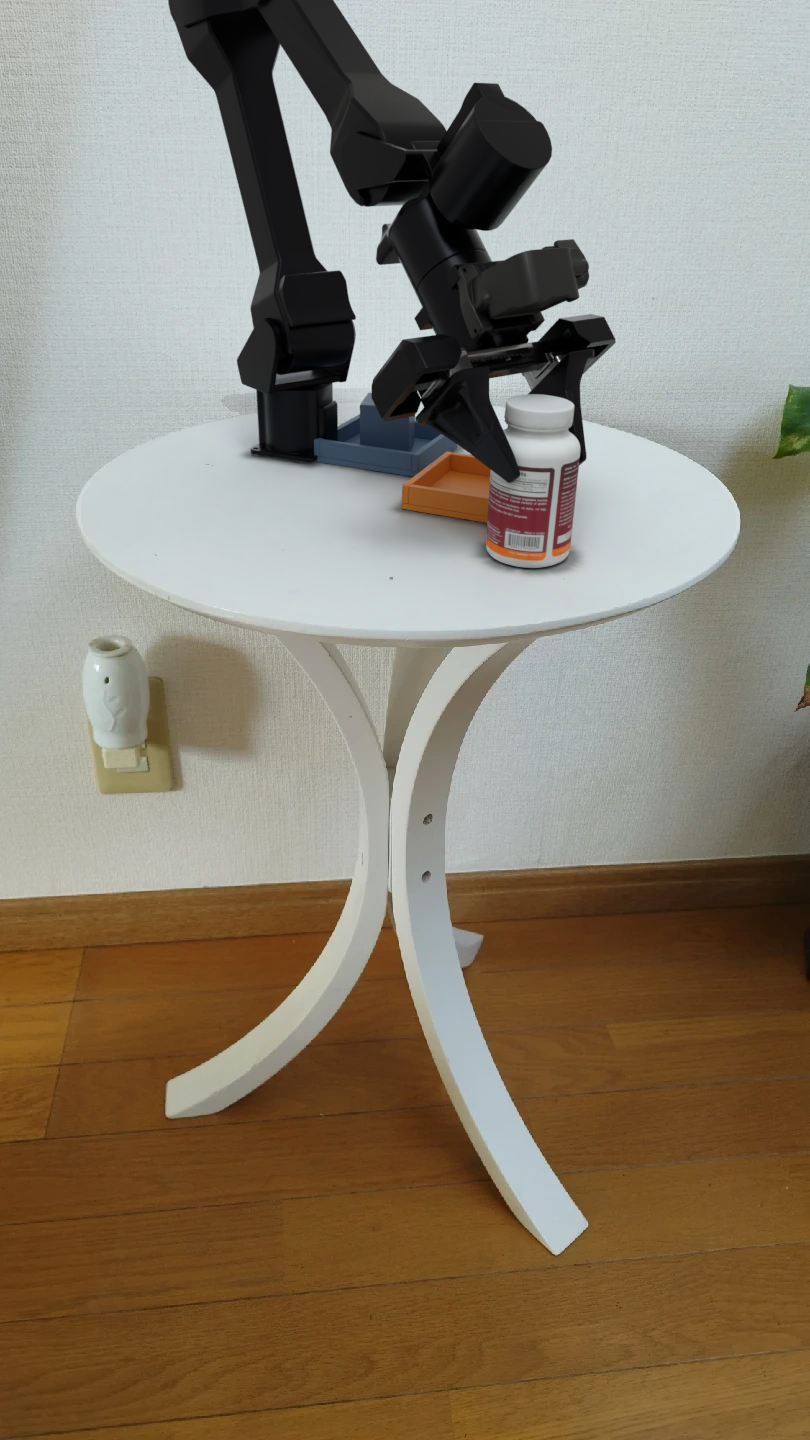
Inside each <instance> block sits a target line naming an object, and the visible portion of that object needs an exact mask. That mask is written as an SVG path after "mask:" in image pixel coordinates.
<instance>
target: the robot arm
mask: <svg viewBox="0 0 810 1440" xmlns="http://www.w3.org/2000/svg"><path fill="white" fill-rule="evenodd" d="M167 1H168V8H169V13H170V16H171V18H172V20H173V23H174V25H175V27H176V30H177V33H178V35H179V39H180V42H181V45H182V47H183V51H184V54H185V56H186V59H187V60H188V61H189V62H190V64H191V65H192V66H193V67H194V69H195V70H196V71H197V72H198V73H199V75H201V77H202V79H204V80H205V82H206V83H207V84H208V85H209V86H210V88H212V90H213V91H214V94H215V97H216V101H217V105H218V109H219V113H220V117H221V121H222V125H223V129H224V133H225V137H226V141H227V145H228V149H229V153H230V157H231V162H232V164H233V165H232V166H233V169H234V173H235V177H236V181H237V185H238V189H239V193H240V197H241V202H242V205H243V210H244V213H245V217H246V221H247V225H248V230H249V233H250V237H251V241H252V244H253V245H252V246H253V250H254V252H255V259H256V262H257V265H258V271H259V275H258V278H257V282H256V285H255V289H254V293H253V295H252V298H251V299H252V300H251V303H250V315H251V321H252V326H253V329H252V331H251V332H250V335H249V336H248V338H247V340H246V342H245V344H244V346H243V347H242V349H241V351H240V353H239V354H238V356H237V359H236V365H237V369H238V373H239V379H240V382H241V384H242V385H244V386H245V387H249V388H251V389H254V390H255V391H256V392H255V393H256V411H257V425H258V426H257V428H258V429H257V430H258V443H257V444H255V445H254V446H252V447H250V450H249V451H250V454H251V455H254V456H255V455H256V456H260V457H261V456H262V457H270V458H275V459H282V460H286V461H287V460H288V461H292V462H293V461H294V462H301V463H308V464H313V463H315V462H316V460H317V457H318V456H317V455H314V440H315V439H317V438H322V439H325V440H332V441H338V426H339V424H338V423H339V422H338V421H339V420H338V417H339V416H338V402H337V400H334V398H333V397H334V392H333V391H334V390H333V385H334V383H346V382H347V379H348V375H349V371H350V366H351V362H352V357H353V353H354V346H355V344H356V336H357V333H356V327H355V324H354V321H355V320H356V319H357V316H356V314H355V312H354V310H353V308H352V305H351V302H350V298H349V297H350V296H349V291H348V285H347V279H346V278H345V275H344V274H343V272H342V271H341V270H339V269H338V270H327V268H326V267H325V266H324V265H323V263H321V261H320V260H319V259H318V258H317V255H316V253H315V249H314V244H313V240H312V237H311V233H310V227H309V223H308V219H307V214H306V210H305V207H304V202H303V198H302V194H301V190H300V185H299V181H298V176H297V173H296V168H295V164H294V161H293V156H292V152H291V147H290V142H289V139H288V135H287V131H286V126H285V121H284V118H283V114H282V110H281V106H280V102H279V97H278V93H277V89H276V85H275V80H274V69H275V67H276V63H277V59H278V55H279V52H280V48H282V50H283V51H284V53H285V54H286V56H287V57H288V59H289V61H290V62H291V64H292V65H293V67H294V68H295V70H296V72H297V73H298V74H299V76H300V78H301V80H302V81H303V82H304V84H305V86H306V87H307V89H308V90H309V92H310V94H311V95H312V97H313V99H314V100H315V101H316V103H317V104H318V106H319V109H321V110H322V111H321V112H322V113H323V114H324V116H325V118H326V120H327V122H328V125H329V127H330V129H331V132H330V145H329V155H330V157H331V160H332V161H333V164H334V166H335V168H336V170H337V173H338V174H339V177H340V179H341V181H342V183H343V186H344V188H345V190H346V192H347V193H348V195H349V197H350V199H352V201H353V202H354V203H355V204H356V205H357V206H360V207H366V208H373V207H374V208H375V207H395V206H396V207H397V206H401V207H400V209H399V211H398V212H397V214H396V215H395V217H394V218H393V220H392V221H391V223H384V224H382V226H381V237H380V241H379V243H378V244H377V247H376V255H375V262H376V263H377V265H379V266H384V265H396V264H397V265H398V264H401V266H402V268H403V270H404V272H405V275H406V277H407V279H408V281H409V283H410V285H411V287H412V289H413V291H414V293H415V295H416V297H417V299H418V301H419V303H420V305H421V308H420V310H419V311H418V313H417V314H416V315H415V317H414V318H413V319H414V322H415V323H416V326H417V327H418V329H419V331H426V330H433V332H434V335H433V334H432V335H426V336H418V337H412V338H402V340H401V341H400V342H399V344H398V345H397V347H396V348H395V349H394V350H393V351H392V353H391V355H389V357H388V359H387V360H386V361H385V363H384V364H383V365H382V367H381V368H380V369H379V371H378V372H377V373H376V375H375V376H374V377H373V379H372V383H371V393H372V397H371V398H372V400H373V402H374V404H375V406H376V408H377V410H378V413H379V415H380V417H381V419H382V420H383V421H384V422H386V421H391V420H396V419H402V418H407V417H412V416H414V415H415V421H416V422H417V423H418V425H428V426H430V427H431V428H433V429H434V430H436V431H438V432H439V433H441V434H442V435H444V436H445V437H447V438H448V439H450V440H451V441H453V442H454V443H456V444H457V446H459V447H460V448H462V449H463V450H464V451H466V452H467V453H469V455H473V456H474V457H475V458H476V459H478V460H479V461H480V462H482V463H483V464H484V465H486V466H487V467H488V468H489V469H491V470H492V471H493V472H495V473H496V474H497V475H498V476H500V477H501V478H502V479H504V480H505V481H506V482H508V483H512V482H514V481H515V480H517V479H518V478H519V477H520V471H519V468H518V465H517V462H516V459H515V456H514V453H513V451H512V449H511V447H510V444H509V442H508V440H507V438H506V435H505V433H504V431H503V430H504V429H503V427H502V424H501V423H500V420H499V418H498V416H497V414H496V413H497V412H496V411H495V409H494V406H493V404H492V401H491V398H490V379H494V378H502V377H507V376H512V375H518V374H521V375H522V377H524V379H525V380H526V383H527V384H528V387H529V388H530V390H529V392H528V393H527V394H540V395H550V396H556V397H560V398H564V399H567V400H569V401H571V402H572V403H573V404H574V416H573V422H572V426H571V427H570V428H568V430H569V432H570V433H572V434H573V435H574V436H575V437H576V438H577V439H578V441H579V443H580V448H581V449H580V461H579V466H581V465H582V464H583V463H585V462H586V460H587V448H586V447H587V446H586V441H585V440H586V439H585V431H584V421H583V415H582V414H583V413H582V403H581V381H582V378H583V375H585V373H587V371H588V370H589V369H590V368H591V367H593V366H594V364H596V363H597V361H599V360H600V359H601V358H602V357H603V356H604V354H606V353H607V352H608V351H609V350H610V349H611V348H612V347H613V346H614V345H616V343H617V342H616V337H615V335H614V333H613V331H612V329H611V327H610V325H609V324H608V322H607V320H606V318H605V316H602V315H597V314H592V313H590V314H581V315H574V316H567V317H559V318H558V319H557V320H556V321H555V322H554V323H553V325H551V326H550V328H548V330H547V331H546V332H545V333H544V334H543V335H542V336H541V338H539V339H538V341H532V342H529V337H528V335H529V334H530V333H531V332H534V331H537V330H538V329H539V327H541V325H542V324H543V323H544V322H545V321H546V319H545V317H544V315H543V314H542V313H543V312H544V311H546V310H548V309H552V308H553V307H555V306H557V305H560V304H562V303H564V302H567V303H572V302H575V301H576V300H578V299H579V298H580V293H579V290H580V289H583V288H585V287H586V286H587V284H588V283H589V279H590V273H589V269H590V263H589V262H588V260H587V259H586V256H585V255H584V253H583V251H582V250H581V248H580V247H579V245H578V244H577V241H575V239H574V238H570V239H557V240H555V241H554V242H553V245H549V246H543V247H541V248H540V249H539V248H538V249H529V250H525V251H521V252H518V253H516V254H513V255H512V256H510V257H507V258H506V259H503V260H492V258H491V256H490V254H489V253H488V250H487V248H486V246H485V244H484V243H483V242H484V241H482V238H481V236H480V234H479V232H478V231H483V232H489V231H493V230H495V229H498V228H499V227H500V226H502V225H503V224H504V222H505V220H506V219H507V218H508V217H509V215H510V214H511V212H512V211H513V210H514V209H515V208H516V206H517V205H518V203H519V202H520V201H521V199H522V198H523V197H524V195H526V193H527V192H528V190H530V188H531V186H532V185H533V184H534V182H535V181H536V180H537V178H538V177H539V176H540V174H541V173H542V172H543V170H544V169H545V168H546V166H547V165H548V164H549V163H550V160H551V158H552V153H553V146H552V140H551V137H550V135H549V132H548V130H547V129H546V126H545V125H544V123H543V122H542V121H539V120H537V119H536V118H535V116H534V115H533V114H531V112H530V111H529V110H528V109H526V108H525V107H524V106H522V105H521V104H520V103H519V102H516V101H515V100H513V99H512V98H509V97H507V96H505V94H504V91H503V90H502V88H501V86H500V84H499V83H498V82H497V83H496V82H495V83H494V82H493V83H491V82H473V84H472V85H471V87H470V88H469V90H468V91H467V93H466V95H465V96H464V99H463V101H462V104H461V106H460V109H459V110H458V111H457V114H456V116H455V117H454V118H453V120H452V121H451V123H450V125H449V127H448V128H447V129H446V127H445V125H444V124H443V122H441V120H440V119H439V118H438V117H437V116H436V115H435V114H434V113H433V112H432V110H430V109H429V108H428V107H427V106H426V105H425V104H424V103H423V102H422V101H421V100H420V99H419V98H417V96H414V95H412V94H410V93H409V92H407V91H405V90H404V89H402V88H400V87H399V86H396V85H395V84H393V83H392V82H390V81H389V80H388V79H387V78H386V76H385V75H384V74H383V73H382V72H381V70H380V68H379V67H378V66H377V64H376V63H375V61H374V60H373V58H372V57H371V55H370V53H369V52H368V51H367V49H366V48H365V46H364V44H363V43H362V41H361V40H360V39H359V37H358V35H357V34H356V32H355V31H354V29H353V27H352V26H351V25H350V23H349V22H348V20H347V19H346V17H345V16H344V14H343V13H342V11H341V9H340V8H339V7H338V5H337V3H336V2H335V0H167ZM477 230H478V231H477ZM421 404H422V407H423V408H422V409H421V410H420V411H419V409H420V405H421ZM418 411H419V413H418ZM417 413H418V414H417ZM416 414H417V415H416Z"/></svg>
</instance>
